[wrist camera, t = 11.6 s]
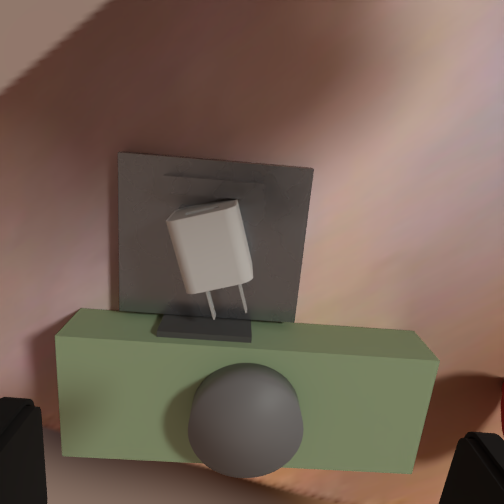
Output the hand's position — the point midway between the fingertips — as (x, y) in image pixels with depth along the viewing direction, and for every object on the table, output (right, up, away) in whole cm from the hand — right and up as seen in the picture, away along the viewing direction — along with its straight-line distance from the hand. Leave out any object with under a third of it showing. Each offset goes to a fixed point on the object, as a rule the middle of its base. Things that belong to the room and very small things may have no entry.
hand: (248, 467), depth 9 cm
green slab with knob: (0, -4, +21) cm, 21 cm away
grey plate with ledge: (-3, +5, +18) cm, 19 cm away
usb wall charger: (-2, +5, +17) cm, 18 cm away
